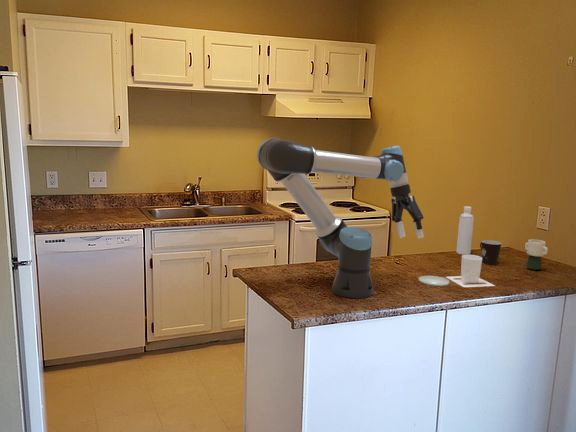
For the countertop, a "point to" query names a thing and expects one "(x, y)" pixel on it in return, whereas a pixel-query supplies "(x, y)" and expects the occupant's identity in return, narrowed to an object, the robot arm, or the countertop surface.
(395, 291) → the countertop surface
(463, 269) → the white cup
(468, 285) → the white square tray
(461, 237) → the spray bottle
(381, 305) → the countertop surface
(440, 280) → the coaster
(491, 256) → the coffee mug
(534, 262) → the character mug
